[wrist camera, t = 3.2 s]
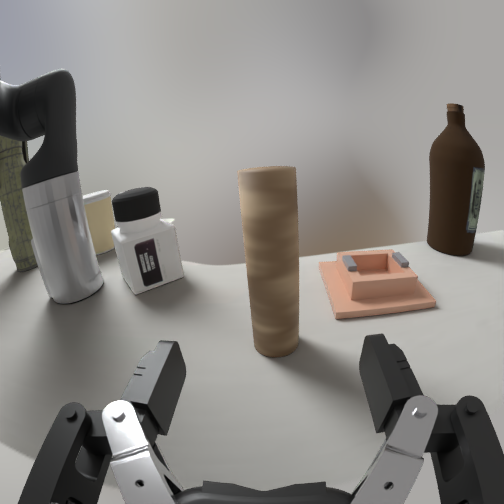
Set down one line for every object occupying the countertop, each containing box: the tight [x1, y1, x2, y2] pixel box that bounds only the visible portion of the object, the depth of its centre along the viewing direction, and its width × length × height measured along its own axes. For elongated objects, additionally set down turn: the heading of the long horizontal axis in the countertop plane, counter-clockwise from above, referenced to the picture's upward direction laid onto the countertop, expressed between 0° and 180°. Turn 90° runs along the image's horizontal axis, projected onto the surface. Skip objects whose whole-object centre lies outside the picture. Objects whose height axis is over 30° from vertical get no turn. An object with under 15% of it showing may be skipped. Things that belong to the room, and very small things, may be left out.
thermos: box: [0, 136, 38, 272], centre depth 42 cm, size 9×12×35 cm
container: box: [111, 187, 184, 295], centre depth 36 cm, size 8×8×13 cm
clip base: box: [319, 249, 436, 319], centre depth 30 cm, size 12×12×4 cm
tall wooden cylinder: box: [237, 166, 299, 357], centre depth 21 cm, size 4×4×15 cm
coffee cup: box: [83, 190, 115, 255], centre depth 51 cm, size 9×9×12 cm
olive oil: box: [427, 104, 485, 256], centre depth 35 cm, size 11×11×25 cm
